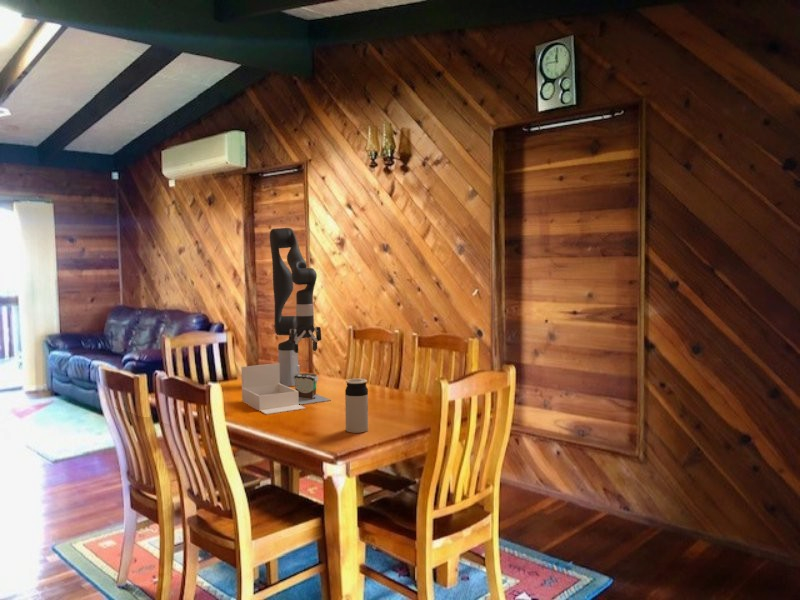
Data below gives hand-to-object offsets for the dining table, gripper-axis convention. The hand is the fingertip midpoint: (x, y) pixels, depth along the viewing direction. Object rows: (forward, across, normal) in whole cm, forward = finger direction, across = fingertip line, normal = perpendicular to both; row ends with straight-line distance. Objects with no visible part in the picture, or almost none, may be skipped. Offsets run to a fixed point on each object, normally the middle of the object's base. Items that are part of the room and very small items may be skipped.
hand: (305, 351), depth 279 cm
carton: (+20, +17, +4) cm, 27 cm away
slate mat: (+20, 0, 0) cm, 21 cm away
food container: (+20, -1, 0) cm, 20 cm away
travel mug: (+20, +8, +57) cm, 61 cm away
